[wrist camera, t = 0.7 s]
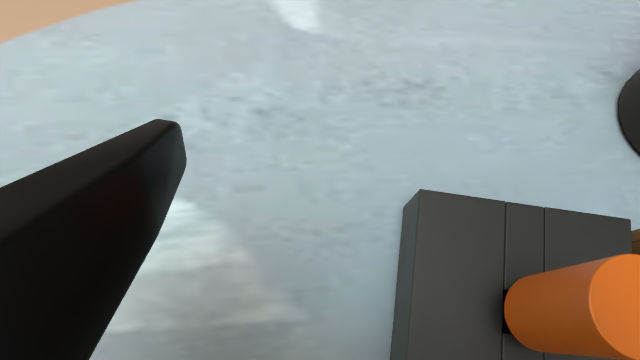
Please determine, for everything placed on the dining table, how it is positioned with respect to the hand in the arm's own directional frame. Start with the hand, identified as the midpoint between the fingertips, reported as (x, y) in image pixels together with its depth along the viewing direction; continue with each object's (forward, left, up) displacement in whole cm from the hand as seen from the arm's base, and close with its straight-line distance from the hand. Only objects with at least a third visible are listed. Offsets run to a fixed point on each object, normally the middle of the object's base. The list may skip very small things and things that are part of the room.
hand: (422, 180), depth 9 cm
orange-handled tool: (-1, -8, -17) cm, 19 cm away
